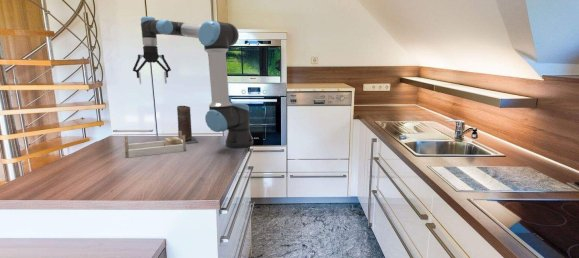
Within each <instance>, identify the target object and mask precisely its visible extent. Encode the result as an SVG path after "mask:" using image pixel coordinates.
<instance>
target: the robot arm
mask: <svg viewBox="0 0 579 258" xmlns="http://www.w3.org/2000/svg"><path fill="white" fill-rule="evenodd" d="M140 30H141V37H142V39H141V40H142V45H143V47H142V50H143V53H142V54H137V59H136V62H135V63H134V66H133V68H132V71H133V72H135V73H136V78H137V79H138V81H139V85H142V79H141V78H142V77H141V76H142V75H141V72H140V71H141V70H142V68H143V67H144V66H145V65H146V64H147V63H153V64H154V63H157V64H158V65H159V67H160V68H162V69H163V70H164V72H163V74H164V75H163V77H164V84H168V83H167V78H169V72H171V71H172V69H171V67H170V65H169V64H168V61H167V60H166V59H165V55H164V54H159V51H158V37H157V35H166V36H179V37H187V38H193V39H198V41H199V42H200V44H202V45H203V46H204V49H203V50H204V51H205V52H206V53H207V59H208V71H209V81H210V82H209V83H210V92H211V93H210V95H211V96H210V97H211V103H210V104H209V105H208V107H209V108H208V109H209V110H208V111H207V112H206V113H205V118H204V119H205V124H206V126H207V127H208V128H209V129H210V131H213V132H215V133H220V132H225V131H227V134H226V139H225V147H229V148H231V149H232V148H235V149H242V148H249V147H251V146H253V145H254V139H253V137H252V133H251V131H250V128H251V127H250V107H249V105H248V104H246V103H233V102H231V101H230V96H229V82H228V80H229V79H228V69H227V68H228V67H227V52H228V51H229V47H232V46H234V45H235V44H237V42H238V40H239V36H240V35H239V31H238V28H237V27H236V26H235V25H234V24H231V23H229V22H223V21H217V20H206V21H205V22H203V23H201V24H200V23H193V22H181V21H172V20H169V19H162V18H161V19H156V18H155V17H154V16H142V17H141V18H140ZM142 58H143V59H144V61H142V63H141V64H140V66H138V65H139V63H140V60H141V59H142ZM159 58H160V59H161V60H162V61H163V63H164V64H162V63H161V62H160V61H159ZM165 66H166V67H165ZM137 67H138V68H137Z"/></svg>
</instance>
